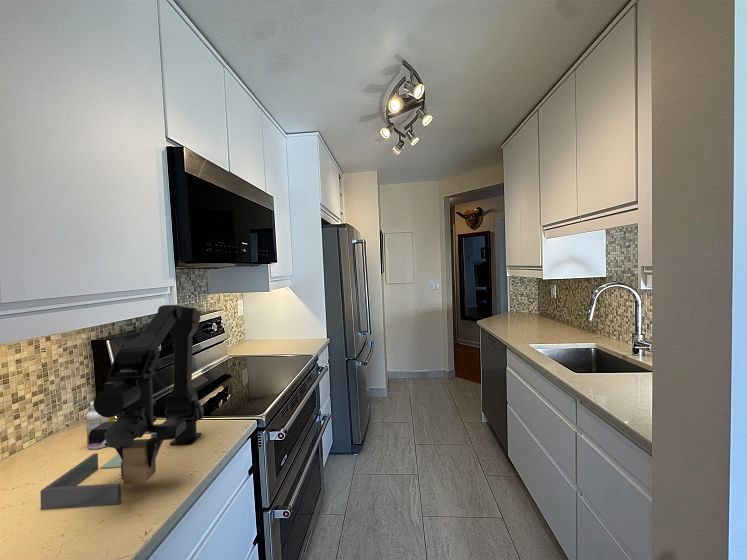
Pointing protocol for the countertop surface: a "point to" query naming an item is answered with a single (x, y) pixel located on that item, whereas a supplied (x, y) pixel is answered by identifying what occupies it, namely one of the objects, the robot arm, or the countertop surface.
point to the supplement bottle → (95, 425)
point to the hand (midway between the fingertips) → (139, 467)
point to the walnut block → (137, 463)
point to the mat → (113, 463)
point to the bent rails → (80, 489)
